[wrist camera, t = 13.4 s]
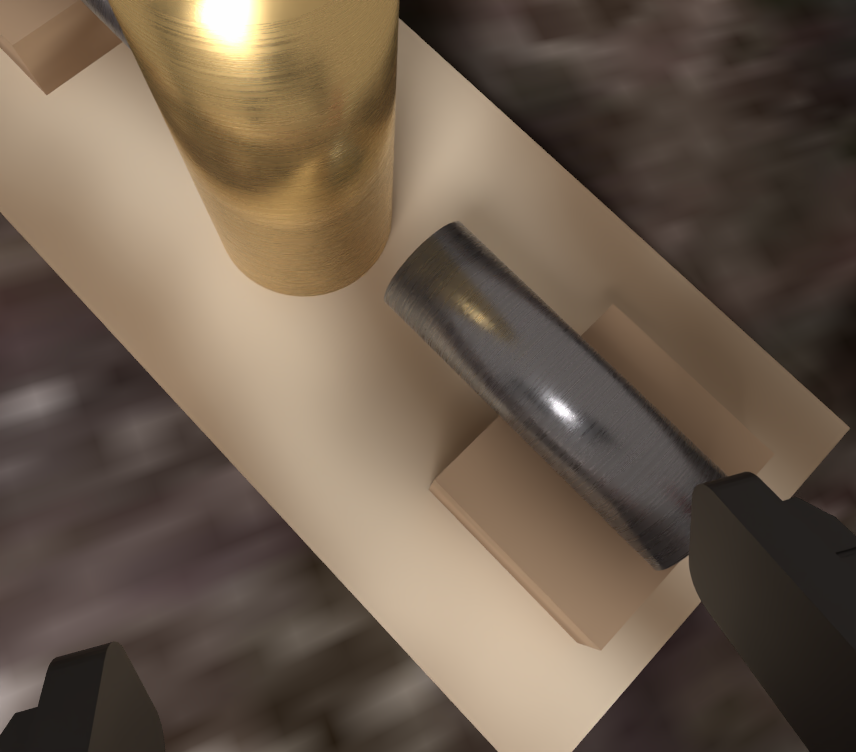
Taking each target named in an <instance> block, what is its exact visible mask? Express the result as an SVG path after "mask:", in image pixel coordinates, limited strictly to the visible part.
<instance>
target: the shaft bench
mask: <svg viewBox="0 0 856 752" xmlns="http://www.w3.org/2000/svg"><path fill="white" fill-rule="evenodd" d="M0 212H1V213H2V214H3V215H4V217H5V218H6V219H7V220H8V221H9V222H10V223H11V224H12V225H13V226H14V227H15V228H16V230H17V231H18V232H19V233H20V234H21V235H22V236H23V237H24V238H25V239H26V240H27V241H28V243H29V244H30V245H31V246H32V247H33V248H34V249H35V250H36V251H37V252H38V253H39V255H40V256H41V257H42V258H43V259H44V260H45V261H46V262H47V263H48V264H49V265H50V266H51V268H52V269H53V270H54V271H55V272H56V273H57V274H58V275H59V276H60V277H61V278H62V279H63V281H64V282H65V283H66V284H67V285H68V286H69V287H70V288H71V289H72V290H73V291H74V292H75V294H76V295H77V296H78V297H79V298H80V299H81V300H82V301H83V302H84V303H85V304H86V305H87V307H88V308H89V309H90V310H91V311H92V312H93V313H94V314H95V315H96V316H97V317H98V318H99V320H100V321H101V322H102V323H103V324H104V325H105V326H106V327H107V328H108V329H109V330H110V331H111V333H112V334H113V335H114V336H115V337H116V338H117V339H118V340H119V341H120V342H121V343H122V344H123V346H124V347H125V348H126V349H127V350H128V351H129V352H130V353H131V354H132V355H133V356H134V357H135V359H136V360H137V361H138V362H139V363H140V364H141V365H142V366H143V367H144V368H145V369H146V370H147V372H148V373H149V374H150V375H151V376H152V377H153V378H154V379H155V380H156V381H157V382H158V383H159V385H160V386H161V387H162V388H163V389H164V390H165V391H166V392H167V393H168V394H169V395H170V396H171V398H172V399H173V400H174V401H175V402H176V403H177V404H178V405H179V406H180V407H181V408H182V410H183V411H184V412H185V413H186V414H187V415H188V416H189V417H190V418H191V419H192V420H193V421H194V423H195V424H196V425H197V426H198V427H199V428H200V429H201V430H202V431H203V432H204V433H205V434H206V436H207V437H208V438H209V439H210V440H211V441H212V442H213V443H214V444H215V445H216V446H217V447H218V449H219V450H220V451H221V452H222V453H223V454H224V455H225V456H226V457H227V458H228V459H229V460H230V462H231V463H232V464H233V465H234V466H235V467H236V468H237V469H238V470H239V471H240V472H241V473H242V475H243V476H244V477H245V478H246V479H247V480H248V481H249V482H250V483H251V484H252V485H253V486H254V488H255V489H256V490H257V491H258V492H259V493H260V494H261V495H262V496H263V497H264V498H265V499H266V501H267V502H268V503H269V504H270V505H271V506H272V507H273V508H274V509H275V510H276V511H277V512H278V514H279V515H280V516H281V517H282V518H283V519H284V520H285V521H286V522H287V523H288V524H289V525H290V527H291V528H292V529H293V530H294V531H295V532H296V533H297V534H298V535H299V536H300V537H301V538H302V540H303V541H304V542H305V543H306V544H307V545H308V546H309V547H310V548H311V549H312V550H313V551H314V553H315V554H316V555H317V556H318V557H319V558H320V559H321V560H322V561H323V562H324V563H325V565H326V566H327V567H328V568H329V569H330V570H331V571H332V572H333V573H334V574H335V575H336V576H337V578H338V579H339V580H340V581H341V582H342V583H343V584H344V585H345V586H346V587H347V588H348V589H349V591H350V592H351V593H352V594H353V595H354V596H355V597H356V598H357V599H358V600H359V601H360V602H361V604H362V605H363V606H364V607H365V608H366V609H367V610H368V611H369V612H370V613H371V614H372V615H373V617H374V618H375V619H376V620H377V621H378V622H379V623H380V624H381V625H382V626H383V627H384V628H385V630H386V631H387V632H388V633H389V634H390V635H391V636H392V637H393V638H394V639H395V640H396V641H397V643H398V644H399V645H400V646H401V647H402V648H403V649H404V650H405V651H406V652H407V653H408V654H409V656H410V657H411V658H412V659H413V660H414V661H415V662H416V663H417V664H418V665H419V666H420V667H421V669H422V670H423V671H424V672H425V673H426V674H427V675H428V676H429V677H430V678H431V679H432V680H433V682H434V683H435V684H436V685H437V686H438V687H439V688H440V689H441V690H442V691H443V692H444V693H445V695H446V696H447V697H448V698H449V699H450V700H451V701H452V702H453V703H454V704H455V705H456V706H457V708H458V709H459V710H460V711H461V712H462V713H463V714H464V715H465V716H466V717H467V718H468V720H469V721H470V722H471V723H472V724H473V725H474V726H475V727H476V728H477V729H478V730H479V731H480V733H481V734H482V735H483V736H484V737H485V738H486V739H487V740H488V741H489V742H490V743H491V744H492V746H493V747H494V748H495V749H496V750H497V751H498V752H572V751H573V750H574V749H575V747H576V746H577V745H578V744H579V743H580V742H581V740H582V739H583V738H584V737H585V736H586V735H587V734H588V732H589V731H590V730H591V729H592V728H593V727H594V725H595V724H596V723H597V722H598V721H599V720H600V718H601V717H602V716H603V715H604V714H605V713H606V711H607V710H608V709H609V708H610V707H611V706H612V704H613V703H614V702H615V701H616V700H617V699H618V697H619V696H620V695H621V694H622V693H623V692H624V691H625V689H626V688H627V687H628V686H629V685H630V684H631V682H632V681H633V680H634V679H635V678H636V677H637V675H638V674H639V673H640V672H641V671H642V670H643V668H644V667H645V666H646V665H647V664H648V663H649V661H650V660H651V659H652V658H653V657H654V656H655V654H656V653H657V652H658V651H659V650H660V649H661V648H662V646H663V645H664V644H665V643H666V642H667V641H668V639H669V638H670V637H671V636H672V635H673V634H674V632H675V631H676V630H677V629H678V628H679V627H680V625H681V624H682V623H683V622H684V621H685V620H686V618H687V617H688V616H689V615H690V614H691V613H692V612H693V610H694V609H695V608H696V607H697V606H698V605H699V603H700V602H701V600H700V598H699V596H698V594H697V592H696V590H695V587H694V585H693V582H692V578H691V575H690V570H689V555H688V556H687V557H686V558H684V559H683V560H681V561H680V562H678V563H677V564H675V565H673V566H671V567H669V568H667V569H664V570H660V571H657V570H655V569H654V568H653V567H652V566H651V565H650V564H649V563H648V562H647V561H646V560H645V559H644V558H643V557H642V556H641V555H640V554H639V553H638V552H637V551H636V550H635V549H634V548H633V547H632V546H631V545H630V544H628V543H627V542H626V541H625V540H624V539H623V538H622V537H621V536H620V535H619V534H618V533H617V532H616V531H615V530H614V529H613V528H612V527H611V526H610V525H609V524H608V523H607V522H606V521H605V520H604V519H603V518H602V517H601V516H600V515H599V514H598V513H597V512H596V511H595V510H594V509H593V508H592V507H591V506H590V505H589V504H588V503H587V502H586V501H585V500H584V499H583V498H582V497H581V496H580V495H579V494H578V493H577V492H576V491H575V490H574V489H573V488H572V487H571V486H570V485H569V484H568V483H567V482H566V481H565V480H564V479H563V478H562V477H561V476H560V475H559V474H558V473H557V472H556V471H555V470H554V469H553V468H552V467H551V466H550V465H549V464H548V463H547V462H546V461H545V460H544V459H543V458H542V457H541V456H540V455H539V454H538V453H537V452H536V451H535V450H534V449H533V448H532V447H531V446H530V445H529V444H528V443H527V442H526V441H525V440H524V439H523V438H522V437H521V436H520V435H519V434H518V433H517V432H516V431H515V430H514V429H513V428H512V427H511V426H510V425H509V424H508V423H507V422H506V421H505V420H504V419H502V418H501V417H500V416H499V415H498V414H497V413H496V412H495V411H494V410H493V409H492V408H491V407H490V406H489V405H488V404H487V403H486V402H485V401H484V400H483V399H482V398H481V397H480V396H479V395H478V394H477V393H476V392H475V391H474V390H473V389H472V388H471V387H470V386H469V385H468V384H467V383H466V382H465V381H464V380H463V379H462V378H461V377H460V376H459V375H458V374H457V373H456V372H455V371H454V370H453V369H452V368H451V367H450V366H449V365H448V364H447V363H446V362H445V361H444V360H443V359H442V358H441V357H440V356H439V355H438V354H437V353H436V352H435V351H434V350H433V349H432V348H431V347H430V346H429V345H428V344H427V343H426V342H425V341H424V340H423V339H422V338H421V337H420V336H419V335H418V334H417V333H416V332H415V331H414V330H413V329H412V328H411V327H410V326H409V325H408V324H407V323H406V322H405V321H404V320H403V319H402V318H401V317H400V316H399V315H398V314H397V313H396V312H395V311H394V310H393V309H392V308H391V307H390V306H389V305H388V304H387V303H386V302H385V301H384V294H385V291H386V289H387V287H388V285H389V283H390V281H391V280H392V278H393V277H394V275H395V274H396V272H397V271H398V270H399V268H400V267H401V266H402V264H403V263H404V262H405V261H406V260H407V259H408V257H409V256H410V255H411V254H412V253H413V252H414V251H415V250H416V249H417V248H418V247H419V246H420V245H421V244H422V243H423V242H424V241H425V240H426V239H428V238H429V237H430V236H431V235H432V234H434V233H435V232H436V231H438V230H439V229H441V228H442V227H444V226H445V225H447V224H449V223H452V222H455V221H459V222H461V223H462V224H463V225H464V226H465V227H466V228H467V229H468V230H469V231H470V232H471V233H473V234H474V235H475V236H476V237H477V238H478V239H479V240H480V241H481V242H482V243H483V244H484V245H485V246H486V247H487V248H488V249H489V250H490V251H491V252H493V253H494V254H495V255H496V256H497V257H498V258H499V259H500V260H501V261H502V262H503V263H504V264H505V265H506V266H507V267H508V268H509V269H510V270H511V271H513V272H514V273H515V274H516V275H517V276H518V277H519V278H520V279H521V280H522V281H523V282H524V283H525V284H526V285H527V286H528V287H529V288H530V289H532V290H533V291H534V292H535V293H536V294H537V295H538V296H539V297H540V298H541V299H542V300H543V301H544V302H545V303H546V304H547V305H548V306H549V307H550V308H552V309H553V310H554V311H555V312H556V313H557V314H558V315H559V316H560V317H561V318H562V319H563V320H564V321H565V322H566V323H567V324H568V325H569V326H570V327H572V328H573V329H574V330H575V331H576V332H577V333H578V334H579V335H580V336H581V337H582V338H583V339H584V340H585V341H586V342H587V343H588V344H589V345H590V346H592V347H593V348H594V349H595V350H596V351H597V352H598V353H599V354H600V355H601V356H602V357H603V358H604V359H605V360H606V361H607V362H608V363H609V364H610V365H612V366H613V367H614V368H615V369H616V370H617V371H618V372H619V373H620V374H621V375H622V376H623V377H624V378H625V379H626V380H627V381H628V382H629V383H631V384H632V385H633V386H634V387H635V388H636V389H637V390H638V391H639V392H640V393H641V394H642V395H643V396H644V397H645V398H646V399H647V400H648V401H649V402H651V403H652V404H653V405H654V406H655V407H656V408H657V409H658V410H659V411H660V412H661V413H662V414H663V415H664V416H665V417H666V418H667V419H668V420H669V421H671V422H672V423H673V424H674V425H675V426H676V427H677V428H678V429H679V430H680V431H681V432H682V433H683V434H684V435H685V436H686V437H687V438H688V439H689V440H691V441H692V442H693V443H694V444H695V445H696V446H697V447H698V448H699V449H700V450H701V451H702V452H703V453H704V454H705V455H706V456H707V457H708V458H709V459H711V460H712V461H713V462H714V463H715V464H716V465H717V466H718V467H719V468H720V469H721V470H722V471H723V472H724V473H725V474H726V475H727V476H731V475H735V474H738V473H742V472H751V473H753V474H755V475H757V476H758V477H759V478H760V479H761V480H762V481H763V482H764V483H765V484H766V485H767V486H768V487H769V488H770V489H771V490H772V491H773V492H774V493H775V494H776V495H777V496H778V497H779V498H780V499H781V500H782V501H784V500H787V499H790V498H791V496H792V495H793V494H794V493H795V492H796V491H797V489H798V488H799V487H800V486H801V485H802V484H803V483H804V481H805V480H806V479H807V478H808V477H809V476H810V474H811V473H812V472H813V471H814V470H815V469H816V467H817V466H818V465H819V464H820V463H821V462H822V460H823V459H824V458H825V457H826V456H827V455H828V453H829V452H830V451H831V450H832V449H833V448H834V447H835V445H836V444H837V443H838V442H839V441H840V440H841V438H842V437H843V436H844V435H845V434H846V433H847V431H848V430H849V429H850V428H849V427H848V426H847V425H846V424H845V423H844V422H843V421H842V420H841V419H840V418H838V417H837V416H836V415H835V414H834V413H833V412H832V411H831V410H830V409H829V408H827V407H826V406H825V405H824V404H823V403H822V402H821V401H820V400H819V399H818V398H816V397H815V396H814V395H813V394H812V393H811V392H810V391H809V390H808V389H807V388H805V387H804V386H803V385H802V384H801V383H800V382H799V381H798V380H797V379H796V378H794V377H793V376H792V375H791V374H790V373H789V372H788V371H787V370H786V369H785V368H783V367H782V366H781V365H780V364H779V363H778V362H777V361H776V360H775V359H774V358H772V357H771V356H770V355H769V354H768V353H767V352H766V351H765V350H764V349H763V348H761V347H760V346H759V345H758V344H757V343H756V342H755V341H754V340H753V339H752V338H750V337H749V336H748V335H747V334H746V333H745V332H744V331H743V330H742V329H741V328H739V327H738V326H737V325H736V324H735V323H734V322H733V321H732V320H731V319H730V318H728V317H727V316H726V315H725V314H724V313H723V312H722V311H721V310H720V309H719V308H717V307H716V306H715V305H714V304H713V303H712V302H711V301H710V300H709V299H708V298H706V297H705V296H704V295H703V294H702V293H701V292H700V291H699V290H698V289H697V288H695V287H694V286H693V285H692V284H691V283H690V282H689V281H688V280H687V279H686V278H684V277H683V276H682V275H681V274H680V273H679V272H678V271H677V270H676V269H675V268H673V267H672V266H671V265H670V264H669V263H668V262H667V261H666V260H665V259H664V258H662V257H661V256H660V255H659V254H658V253H657V252H656V251H655V250H654V249H653V248H651V247H650V246H649V245H648V244H647V243H646V242H645V241H644V240H643V239H642V238H640V237H639V236H638V235H637V234H636V233H635V232H634V231H633V230H632V229H631V228H629V227H628V226H627V225H626V224H625V223H624V222H623V221H622V220H621V219H619V218H618V217H617V216H616V215H615V214H614V213H613V212H612V211H611V210H610V209H608V208H607V207H606V206H605V205H604V204H603V203H602V202H601V201H600V200H599V199H597V198H596V197H595V196H594V195H593V194H592V193H591V192H590V191H589V190H588V189H586V188H585V187H584V186H583V185H582V184H581V183H580V182H579V181H578V180H577V179H575V178H574V177H573V176H572V175H571V174H570V173H569V172H568V171H567V170H566V169H564V168H563V167H562V166H561V165H560V164H559V163H558V162H557V161H556V160H555V159H553V158H552V157H551V156H550V155H549V154H548V153H547V152H546V151H545V150H544V149H542V148H541V147H540V146H539V145H538V144H537V143H536V142H535V141H534V140H533V139H531V138H530V137H529V136H528V135H527V134H526V133H525V132H524V131H523V130H522V129H520V128H519V127H518V126H517V125H516V124H515V123H514V122H513V121H512V120H511V119H509V118H508V117H507V116H506V115H505V114H504V113H503V112H502V111H501V110H500V109H498V108H497V107H496V106H495V105H494V104H493V103H492V102H491V101H490V100H489V99H487V98H486V97H485V96H484V95H483V94H482V93H481V92H480V91H479V90H478V89H476V88H475V87H474V86H473V85H472V84H471V83H470V82H469V81H468V80H467V79H465V78H464V77H463V76H462V75H461V74H460V73H459V72H458V71H457V70H456V69H454V68H453V67H452V66H451V65H450V64H449V63H448V62H447V61H446V60H445V59H443V58H442V57H441V56H440V55H439V54H438V53H437V52H436V51H435V50H434V49H432V48H431V47H430V46H429V45H428V44H427V43H426V42H425V41H424V40H423V39H421V38H420V37H419V36H418V35H417V34H416V33H415V32H414V31H413V30H412V29H410V28H409V27H408V26H407V25H406V24H405V23H404V22H403V21H402V20H401V19H399V23H398V51H397V79H396V107H395V135H394V163H393V191H392V219H391V229H390V234H389V238H388V241H387V243H386V246H385V248H384V250H383V252H382V254H381V256H380V257H379V259H378V260H377V262H376V263H375V264H374V265H373V267H372V268H371V269H370V270H369V271H368V272H367V273H366V274H365V275H363V276H362V277H361V278H359V279H358V280H357V281H355V282H354V283H352V284H350V285H348V286H347V287H345V288H342V289H340V290H337V291H335V292H332V293H328V294H324V295H318V296H306V297H299V296H289V295H285V294H280V293H276V292H274V291H271V290H268V289H266V288H264V287H262V286H260V285H258V284H256V283H255V282H253V281H252V280H250V279H249V278H248V277H246V276H245V275H244V274H243V273H242V272H241V271H240V270H239V269H238V268H237V267H236V265H235V264H234V263H233V262H232V260H231V259H230V257H229V255H228V254H227V252H226V250H225V248H224V246H223V244H222V242H221V239H220V237H219V235H218V233H217V231H216V229H215V227H214V225H213V222H212V220H211V218H210V216H209V214H208V212H207V210H206V208H205V205H204V203H203V201H202V199H201V197H200V195H199V193H198V191H197V189H196V186H195V184H194V182H193V180H192V178H191V176H190V174H189V172H188V169H187V167H186V165H185V163H184V161H183V159H182V157H181V155H180V152H179V150H178V148H177V146H176V144H175V142H174V140H173V138H172V135H171V133H170V131H169V129H168V127H167V125H166V123H165V121H164V119H163V116H162V114H161V112H160V110H159V108H158V106H157V104H156V102H155V99H154V97H153V95H152V93H151V91H150V89H149V87H148V85H147V82H146V80H145V78H144V76H143V74H142V72H141V70H140V68H139V65H138V63H137V61H136V59H135V57H134V55H133V53H132V51H131V49H130V48H129V47H128V46H127V45H125V44H124V43H123V42H122V41H121V40H120V39H119V38H118V37H117V36H116V35H115V34H114V33H113V32H112V31H111V30H110V29H109V28H108V27H107V26H106V25H105V24H104V23H103V22H102V21H101V20H100V19H99V18H98V17H97V16H96V15H95V14H94V13H93V12H92V11H91V10H90V9H89V8H88V7H87V6H86V5H85V4H84V3H83V2H82V1H81V0H0Z"/></svg>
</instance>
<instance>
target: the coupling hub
mask: <svg viewBox="0 0 856 752" xmlns="http://www.w3.org/2000/svg"><path fill="white" fill-rule="evenodd" d="M108 2H109V4H110V6H111V8H112V10H113V12H114V15H115V17H116V19H117V21H118V23H119V25H120V27H121V29H122V32H123V34H124V36H125V38H126V40H127V42H128V44H129V46H130V49H131V51H132V53H133V55H134V57H135V59H136V61H137V63H138V65H139V68H140V70H141V72H142V74H143V76H144V78H145V80H146V82H147V85H148V87H149V89H150V91H151V93H152V95H153V97H154V99H155V102H156V104H157V106H158V108H159V110H160V112H161V114H162V116H163V119H164V121H165V123H166V125H167V127H168V129H169V131H170V133H171V135H172V138H173V140H174V142H175V144H176V146H177V148H178V150H179V152H180V155H181V157H182V159H183V161H184V163H185V165H186V167H187V169H188V172H189V174H190V176H191V178H192V180H193V182H194V184H195V186H196V189H197V191H198V193H199V195H200V197H201V199H202V201H203V203H204V205H205V208H206V210H207V212H208V214H209V216H210V218H211V220H212V222H213V225H214V227H215V229H216V231H217V233H218V235H219V237H220V239H221V242H222V244H223V246H224V248H225V250H226V252H227V254H228V255H229V257H230V259H231V260H232V262H233V263H234V264H235V265H236V267H237V268H238V269H239V270H240V271H241V272H242V273H243V274H244V275H245V276H246V277H248V278H249V279H250V280H252V281H253V282H255V283H256V284H258V285H260V286H262V287H264V288H266V289H268V290H271V291H274V292H276V293H280V294H285V295H289V296H299V297H306V296H318V295H324V294H328V293H332V292H335V291H337V290H340V289H342V288H345V287H347V286H348V285H350V284H352V283H354V282H355V281H357V280H358V279H359V278H361V277H362V276H363V275H365V274H366V273H367V272H368V271H369V270H370V269H371V268H372V267H373V265H374V264H375V263H376V262H377V260H378V259H379V257H380V256H381V254H382V252H383V250H384V248H385V246H386V243H387V241H388V238H389V234H390V229H391V219H392V191H393V163H394V135H395V107H396V79H397V51H398V23H399V0H108Z"/></svg>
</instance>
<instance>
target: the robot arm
mask: <svg viewBox="0 0 856 752" xmlns="http://www.w3.org/2000/svg"><path fill="white" fill-rule="evenodd" d="M689 570H690V575H691V578H692V582H693V585H694V587H695V590H696V592H697V594H698V596H699V598H700V600H701V602H702V603H703V605H704V606H705V608H706V609H707V611H708V612H709V613H710V615H711V616H712V617H713V619H714V620H715V622H716V623H717V624H718V626H719V627H720V629H721V630H722V631H723V633H724V634H725V635H726V637H727V638H728V640H729V641H730V642H731V644H732V645H733V646H734V648H735V649H736V651H737V652H738V653H739V655H740V656H741V657H742V659H743V660H744V662H745V663H746V664H747V666H748V667H749V669H750V670H751V671H752V673H753V674H754V675H755V677H756V678H757V680H758V681H759V682H760V684H761V685H762V686H763V688H764V689H765V691H766V692H767V693H768V695H769V696H770V697H771V699H772V700H773V702H774V703H775V704H776V706H777V707H778V709H779V710H780V711H781V713H782V714H783V715H784V717H785V718H786V720H787V721H788V722H789V724H790V725H791V726H792V728H793V729H794V731H795V732H796V733H797V735H798V736H799V737H800V739H801V740H802V742H803V743H804V744H805V746H806V747H807V749H808V750H809V751H810V752H856V536H855V535H854V534H853V533H852V532H851V531H850V530H849V529H847V528H846V527H845V526H844V525H843V524H842V523H841V522H840V521H839V520H838V519H837V518H836V517H834V516H832V515H830V514H828V513H826V512H824V511H823V510H821V509H819V508H817V507H815V506H813V505H811V504H809V503H807V502H805V501H803V500H801V499H799V498H797V497H795V498H791V499H787V500H784V501H782V500H781V499H780V498H779V497H778V496H777V495H776V494H775V493H774V492H773V491H772V490H771V489H770V488H769V487H768V486H767V485H766V484H765V483H764V482H763V481H762V480H761V479H760V478H759V477H758V476H757V475H755V474H753V473H751V472H742V473H738V474H735V475H731V476H727V477H724V478H720V479H716V480H713V481H709V482H705V483H702V484H698V485H696V486H695V488H694V489H693V493H692V505H691V524H690V543H689ZM0 752H165V744H164V736H163V730H162V726H161V722H160V718H159V716H158V713H157V711H156V709H155V707H154V705H153V703H152V701H151V699H150V697H149V696H148V694H147V692H146V690H145V688H144V686H143V684H142V682H141V680H140V679H139V677H138V675H137V673H136V671H135V669H134V667H133V665H132V663H131V662H130V660H129V658H128V656H127V654H126V652H125V650H124V649H123V647H122V646H121V645H120V644H119V643H118V642H111V643H108V644H104V645H100V646H97V647H93V648H89V649H86V650H82V651H78V652H75V653H71V654H67V655H64V656H60V657H56V658H55V659H53V660H52V662H51V663H50V665H49V667H48V670H47V673H46V677H45V681H44V685H43V688H42V692H41V696H40V700H39V704H38V707H36V708H32V709H29V710H25V711H21V712H18V713H15V714H14V716H13V717H12V719H11V720H10V722H9V723H8V724H7V726H6V727H5V729H4V730H3V732H2V733H1V735H0Z"/></svg>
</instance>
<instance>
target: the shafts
mask: <svg viewBox="0 0 856 752" xmlns="http://www.w3.org/2000/svg"><path fill="white" fill-rule="evenodd" d="M81 1H82V2H83V3H84V4H85V5H86V6H87V7H88V8H89V9H90V10H91V11H92V12H93V13H94V14H95V15H96V16H97V17H98V18H99V19H100V20H101V21H102V22H103V23H104V24H105V25H106V26H107V27H108V28H109V29H110V30H111V31H112V32H113V33H114V34H115V35H116V36H117V37H118V38H119V39H120V40H121V41H122V42H123V43H124V44H125V45H127V46H128V47H129V48H130V46H129V44H128V42H127V40H126V38H125V36H124V34H123V32H122V29H121V27H120V25H119V23H118V21H117V19H116V17H115V15H114V12H113V10H112V8H111V6H110V4H109V2H108V0H81ZM384 301H385V302H386V303H387V304H388V305H389V306H390V307H391V308H392V309H393V310H394V311H395V312H396V313H397V314H398V315H399V316H400V317H401V318H402V319H403V320H404V321H405V322H406V323H407V324H408V325H409V326H410V327H411V328H412V329H413V330H414V331H415V332H416V333H417V334H418V335H419V336H420V337H421V338H422V339H423V340H424V341H425V342H426V343H427V344H428V345H429V346H430V347H431V348H432V349H433V350H434V351H435V352H436V353H437V354H438V355H439V356H440V357H441V358H442V359H443V360H444V361H445V362H446V363H447V364H448V365H449V366H450V367H451V368H452V369H453V370H454V371H455V372H456V373H457V374H458V375H459V376H460V377H461V378H462V379H463V380H464V381H465V382H466V383H467V384H468V385H469V386H470V387H471V388H472V389H473V390H474V391H475V392H476V393H477V394H478V395H479V396H480V397H481V398H482V399H483V400H484V401H485V402H486V403H487V404H488V405H489V406H490V407H491V408H492V409H493V410H494V411H495V412H496V413H497V414H498V415H499V416H500V417H501V418H502V419H504V420H505V421H506V422H507V423H508V424H509V425H510V426H511V427H512V428H513V429H514V430H515V431H516V432H517V433H518V434H519V435H520V436H521V437H522V438H523V439H524V440H525V441H526V442H527V443H528V444H529V445H530V446H531V447H532V448H533V449H534V450H535V451H536V452H537V453H538V454H539V455H540V456H541V457H542V458H543V459H544V460H545V461H546V462H547V463H548V464H549V465H550V466H551V467H552V468H553V469H554V470H555V471H556V472H557V473H558V474H559V475H560V476H561V477H562V478H563V479H564V480H565V481H566V482H567V483H568V484H569V485H570V486H571V487H572V488H573V489H574V490H575V491H576V492H577V493H578V494H579V495H580V496H581V497H582V498H583V499H584V500H585V501H586V502H587V503H588V504H589V505H590V506H591V507H592V508H593V509H594V510H595V511H596V512H597V513H598V514H599V515H600V516H601V517H602V518H603V519H604V520H605V521H606V522H607V523H608V524H609V525H610V526H611V527H612V528H613V529H614V530H615V531H616V532H617V533H618V534H619V535H620V536H621V537H622V538H623V539H624V540H625V541H626V542H627V543H628V544H630V545H631V546H632V547H633V548H634V549H635V550H636V551H637V552H638V553H639V554H640V555H641V556H642V557H643V558H644V559H645V560H646V561H647V562H648V563H649V564H650V565H651V566H652V567H653V568H654V569H655V570H657V571H660V570H664V569H667V568H669V567H671V566H673V565H675V564H677V563H678V562H680V561H681V560H683V559H684V558H686V557H687V556H688V555H689V543H690V524H691V505H692V493H693V489H694V488H695V486H696V485H698V484H702V483H705V482H709V481H713V480H716V479H720V478H724V477H727V475H726V474H725V473H724V472H723V471H722V470H721V469H720V468H719V467H718V466H717V465H716V464H715V463H714V462H713V461H712V460H711V459H709V458H708V457H707V456H706V455H705V454H704V453H703V452H702V451H701V450H700V449H699V448H698V447H697V446H696V445H695V444H694V443H693V442H692V441H691V440H689V439H688V438H687V437H686V436H685V435H684V434H683V433H682V432H681V431H680V430H679V429H678V428H677V427H676V426H675V425H674V424H673V423H672V422H671V421H669V420H668V419H667V418H666V417H665V416H664V415H663V414H662V413H661V412H660V411H659V410H658V409H657V408H656V407H655V406H654V405H653V404H652V403H651V402H649V401H648V400H647V399H646V398H645V397H644V396H643V395H642V394H641V393H640V392H639V391H638V390H637V389H636V388H635V387H634V386H633V385H632V384H631V383H629V382H628V381H627V380H626V379H625V378H624V377H623V376H622V375H621V374H620V373H619V372H618V371H617V370H616V369H615V368H614V367H613V366H612V365H610V364H609V363H608V362H607V361H606V360H605V359H604V358H603V357H602V356H601V355H600V354H599V353H598V352H597V351H596V350H595V349H594V348H593V347H592V346H590V345H589V344H588V343H587V342H586V341H585V340H584V339H583V338H582V337H581V336H580V335H579V334H578V333H577V332H576V331H575V330H574V329H573V328H572V327H570V326H569V325H568V324H567V323H566V322H565V321H564V320H563V319H562V318H561V317H560V316H559V315H558V314H557V313H556V312H555V311H554V310H553V309H552V308H550V307H549V306H548V305H547V304H546V303H545V302H544V301H543V300H542V299H541V298H540V297H539V296H538V295H537V294H536V293H535V292H534V291H533V290H532V289H530V288H529V287H528V286H527V285H526V284H525V283H524V282H523V281H522V280H521V279H520V278H519V277H518V276H517V275H516V274H515V273H514V272H513V271H511V270H510V269H509V268H508V267H507V266H506V265H505V264H504V263H503V262H502V261H501V260H500V259H499V258H498V257H497V256H496V255H495V254H494V253H493V252H491V251H490V250H489V249H488V248H487V247H486V246H485V245H484V244H483V243H482V242H481V241H480V240H479V239H478V238H477V237H476V236H475V235H474V234H473V233H471V232H470V231H469V230H468V229H467V228H466V227H465V226H464V225H463V224H462V223H461V222H459V221H455V222H452V223H449V224H447V225H445V226H444V227H442V228H441V229H439V230H438V231H436V232H435V233H434V234H432V235H431V236H430V237H429V238H428V239H426V240H425V241H424V242H423V243H422V244H421V245H420V246H419V247H418V248H417V249H416V250H415V251H414V252H413V253H412V254H411V255H410V256H409V257H408V259H407V260H406V261H405V262H404V263H403V264H402V266H401V267H400V268H399V270H398V271H397V272H396V274H395V275H394V277H393V278H392V280H391V281H390V283H389V285H388V287H387V289H386V291H385V294H384Z"/></svg>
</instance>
